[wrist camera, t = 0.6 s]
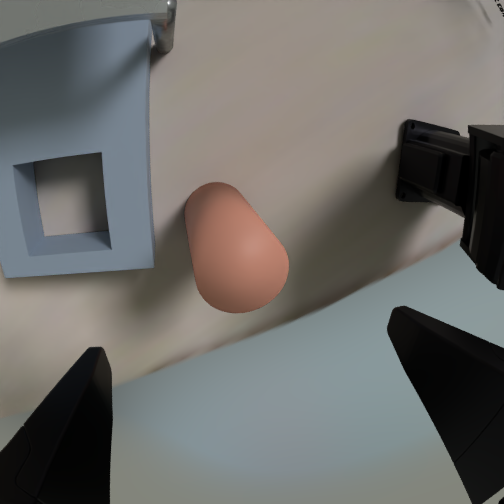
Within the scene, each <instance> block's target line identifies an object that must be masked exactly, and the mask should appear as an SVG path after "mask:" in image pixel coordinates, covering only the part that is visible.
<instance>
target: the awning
mask: <svg viewBox="0 0 504 504" xmlns="http://www.w3.org/2000/svg"><path fill="white" fill-rule="evenodd" d="M176 6H177V1H176V0H0V48H3V47H6V46H10V45H13V44H16V43H19V42H23V41H26V40H30V39H33V38H37V37H41V36H45V35H49V34H53V33H58V32H62V31H67V30H72V29H77V28H83V27H89V26H95V25H102V24H109V23H117V22H126V21H137V20H151V25H152V30H153V35H154V40H155V44H156V49H157V51H158V52H160V53H168V52H170V51H171V50H172V48H173V42H174V28H175V16H176Z"/></svg>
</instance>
